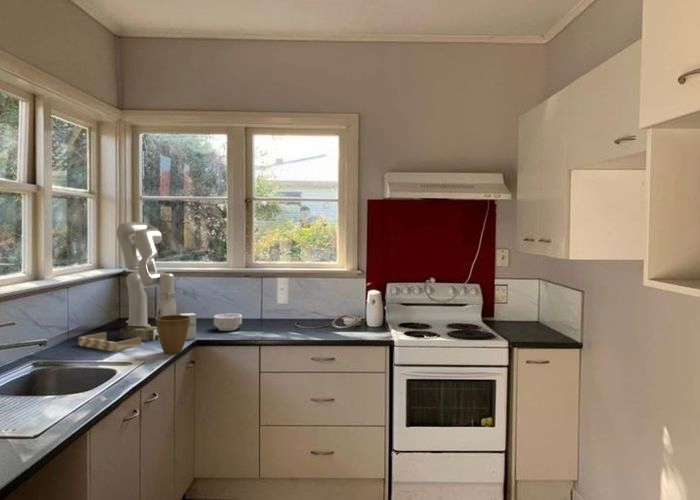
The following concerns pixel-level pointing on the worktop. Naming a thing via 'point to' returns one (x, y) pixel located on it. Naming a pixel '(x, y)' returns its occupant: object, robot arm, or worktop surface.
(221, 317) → the paper bowls
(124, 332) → the juice carton
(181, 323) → the plant pot
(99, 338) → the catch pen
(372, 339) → the worktop surface
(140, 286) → the robot arm
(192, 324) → the supplement box
